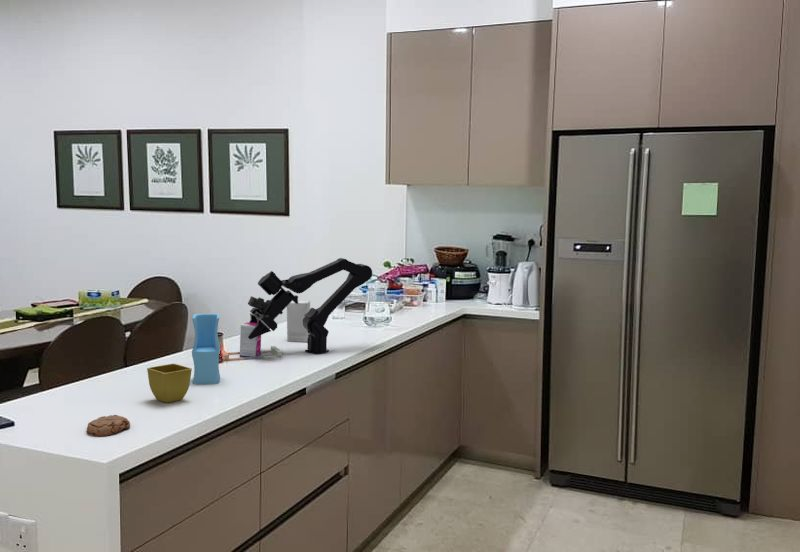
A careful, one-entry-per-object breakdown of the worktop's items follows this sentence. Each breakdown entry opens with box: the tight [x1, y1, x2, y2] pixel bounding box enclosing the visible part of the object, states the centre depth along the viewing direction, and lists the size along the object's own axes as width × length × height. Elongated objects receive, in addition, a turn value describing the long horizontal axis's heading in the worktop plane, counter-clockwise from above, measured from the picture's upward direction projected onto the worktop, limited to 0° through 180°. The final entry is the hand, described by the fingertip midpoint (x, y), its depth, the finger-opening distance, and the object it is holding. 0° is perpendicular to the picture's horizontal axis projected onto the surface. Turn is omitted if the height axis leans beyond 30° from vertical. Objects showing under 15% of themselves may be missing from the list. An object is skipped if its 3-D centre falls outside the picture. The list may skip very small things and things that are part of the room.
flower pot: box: [146, 363, 192, 404], centre depth 202 cm, size 9×9×9 cm
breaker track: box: [221, 345, 283, 362], centre depth 258 cm, size 20×10×2 cm, turn 114°
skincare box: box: [286, 300, 311, 343], centre depth 286 cm, size 8×7×16 cm
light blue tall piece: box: [191, 313, 221, 385], centre depth 223 cm, size 8×8×20 cm
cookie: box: [86, 414, 131, 438], centre depth 176 cm, size 10×11×3 cm
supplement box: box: [239, 322, 262, 358], centre depth 258 cm, size 6×6×12 cm
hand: (246, 336), depth 257 cm, fingers closed on supplement box, 8 cm apart
